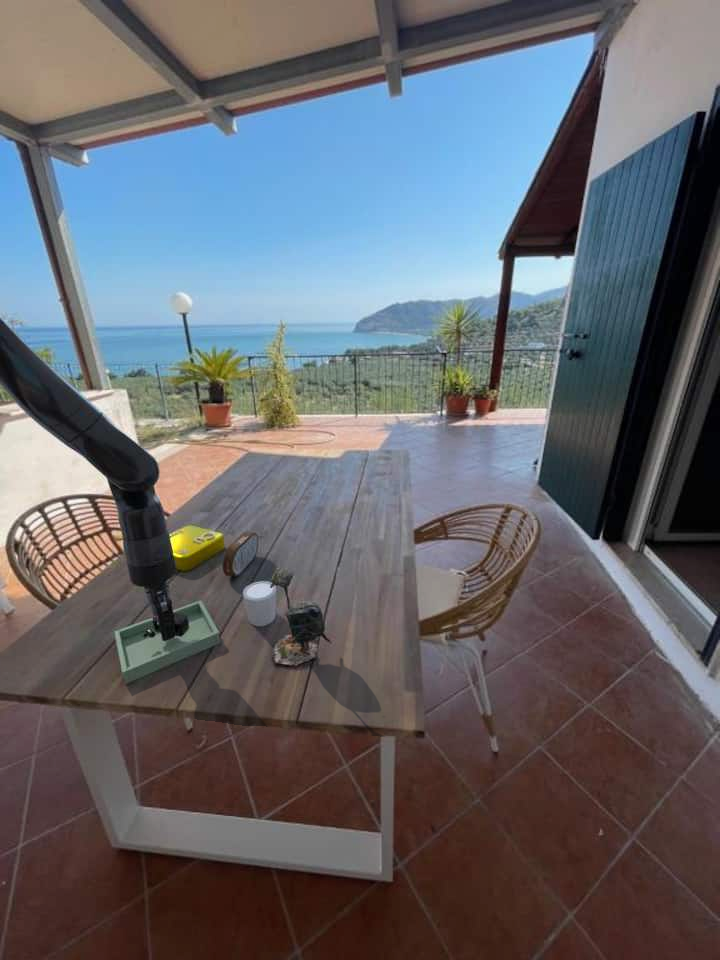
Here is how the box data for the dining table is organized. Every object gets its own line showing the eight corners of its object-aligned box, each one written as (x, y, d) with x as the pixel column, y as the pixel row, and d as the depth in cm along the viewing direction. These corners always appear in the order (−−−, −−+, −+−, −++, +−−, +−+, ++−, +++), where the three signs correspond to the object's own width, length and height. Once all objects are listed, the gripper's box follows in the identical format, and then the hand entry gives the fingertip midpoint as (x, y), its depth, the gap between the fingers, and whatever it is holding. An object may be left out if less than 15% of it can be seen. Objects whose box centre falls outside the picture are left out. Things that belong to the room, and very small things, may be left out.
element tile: (191, 536, 119) (188, 522, 118) (228, 547, 113) (226, 532, 111) (147, 559, 106) (143, 544, 105) (185, 573, 100) (183, 557, 99)
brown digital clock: (251, 552, 110) (248, 525, 107) (261, 553, 110) (258, 526, 107) (223, 582, 96) (219, 552, 94) (234, 583, 96) (231, 553, 93)
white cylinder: (239, 623, 82) (235, 595, 80) (258, 604, 88) (255, 577, 86) (266, 631, 80) (263, 603, 78) (284, 611, 86) (282, 584, 84)
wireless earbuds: (159, 623, 79) (157, 610, 78) (191, 628, 77) (188, 615, 76) (143, 639, 74) (139, 625, 73) (175, 645, 73) (173, 631, 72)
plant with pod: (324, 673, 70) (320, 578, 63) (265, 664, 72) (254, 571, 65) (334, 641, 77) (332, 553, 71) (281, 634, 79) (273, 547, 73)
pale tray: (125, 684, 68) (122, 672, 67) (117, 641, 77) (114, 631, 76) (220, 643, 77) (219, 632, 76) (202, 609, 87) (201, 600, 86)
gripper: (121, 544, 74) (138, 617, 79) (131, 579, 63) (151, 661, 68) (164, 533, 78) (177, 603, 83) (181, 564, 67) (195, 642, 73)
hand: (165, 629), depth 76 cm, fingers closed on wireless earbuds, 5 cm apart
